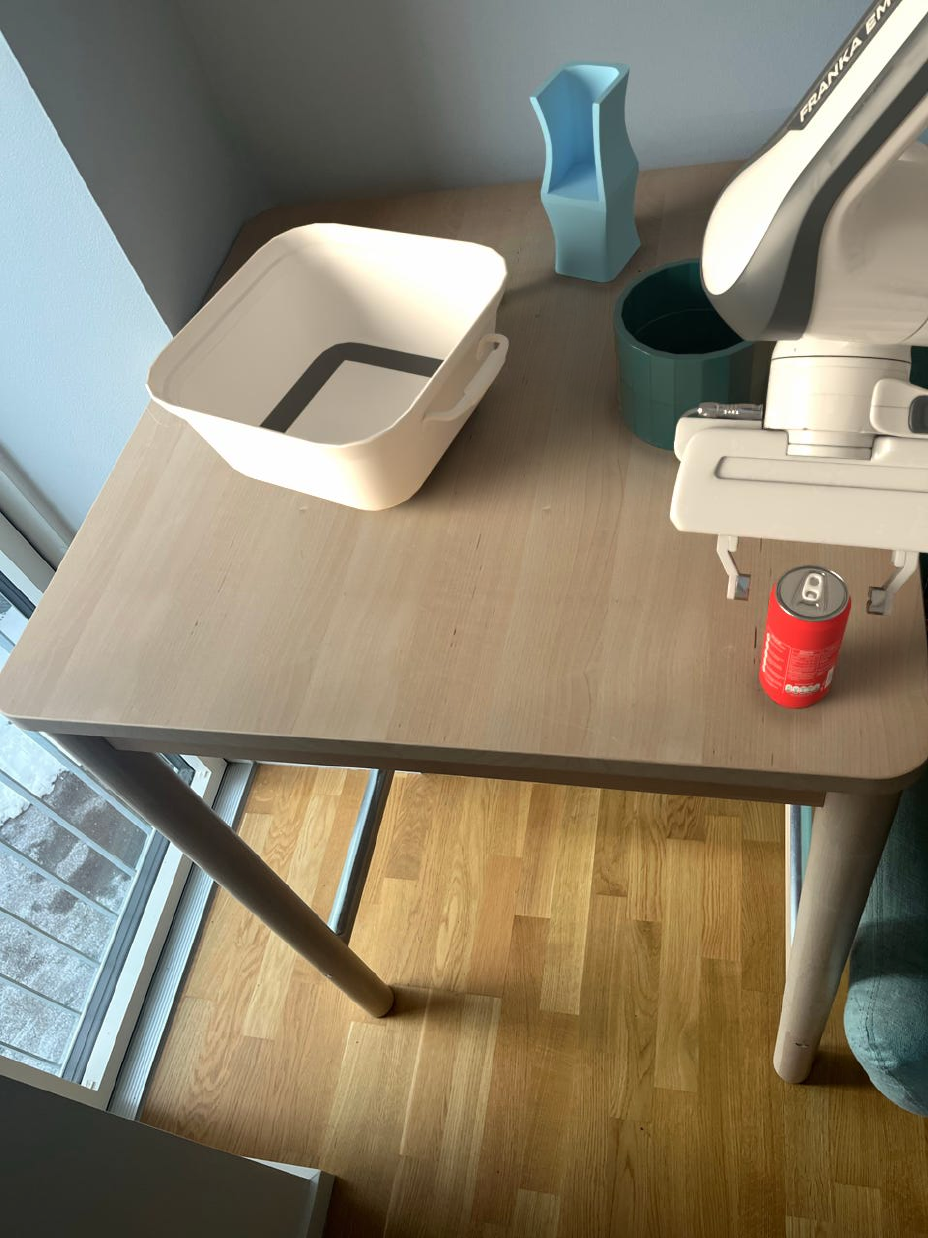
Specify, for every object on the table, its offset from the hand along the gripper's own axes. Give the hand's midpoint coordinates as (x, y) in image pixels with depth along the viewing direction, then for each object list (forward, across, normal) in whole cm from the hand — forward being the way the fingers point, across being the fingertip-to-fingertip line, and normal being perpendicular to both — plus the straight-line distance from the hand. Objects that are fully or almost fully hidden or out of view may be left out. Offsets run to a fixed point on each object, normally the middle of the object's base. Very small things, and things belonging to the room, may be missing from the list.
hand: (806, 606), depth 65 cm
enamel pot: (-15, -12, +27) cm, 33 cm away
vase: (-32, -26, +44) cm, 60 cm away
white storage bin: (-10, -44, +22) cm, 50 cm away
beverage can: (+7, 0, +5) cm, 9 cm away
